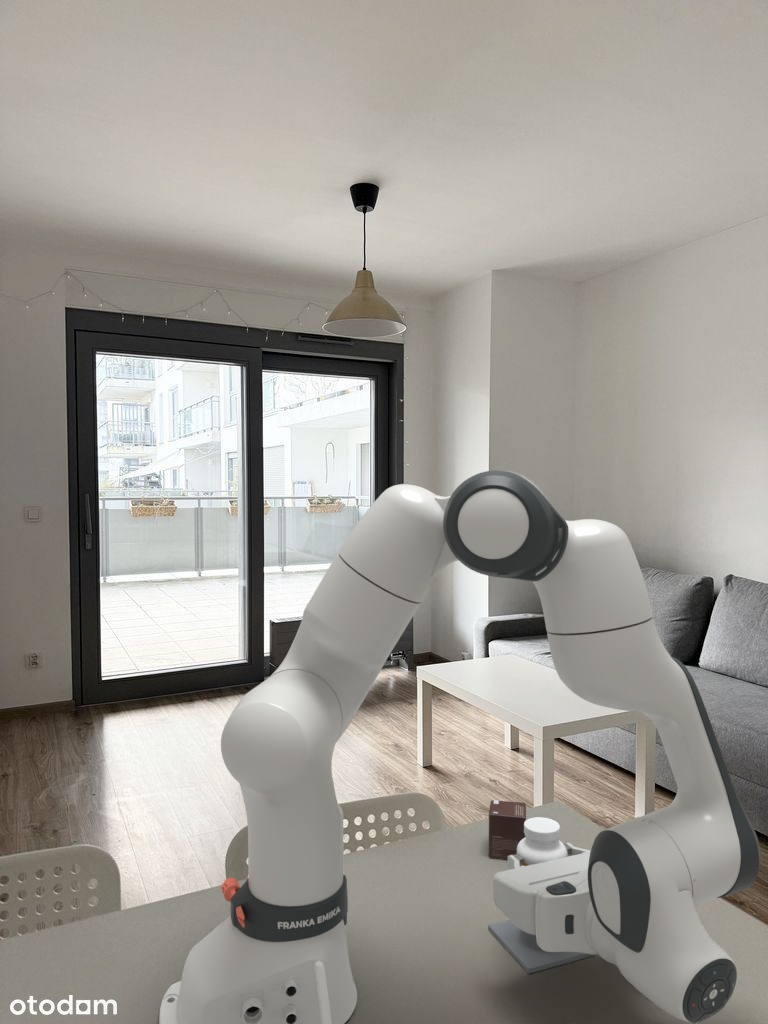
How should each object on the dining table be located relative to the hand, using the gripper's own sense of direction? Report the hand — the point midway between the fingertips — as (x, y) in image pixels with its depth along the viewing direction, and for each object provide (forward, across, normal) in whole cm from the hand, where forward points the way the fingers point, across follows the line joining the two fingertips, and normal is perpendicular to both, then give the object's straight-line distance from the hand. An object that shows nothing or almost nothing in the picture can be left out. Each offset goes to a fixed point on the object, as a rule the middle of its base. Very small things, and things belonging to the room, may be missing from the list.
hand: (537, 854), depth 97 cm
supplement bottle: (-1, 0, +9) cm, 9 cm away
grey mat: (-1, 0, +11) cm, 11 cm away
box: (+22, -9, +12) cm, 27 cm away
